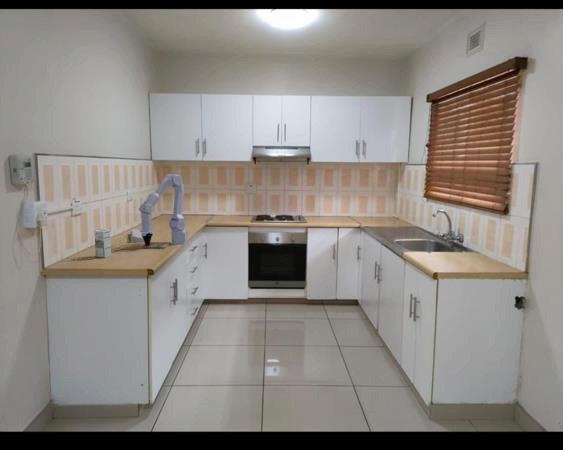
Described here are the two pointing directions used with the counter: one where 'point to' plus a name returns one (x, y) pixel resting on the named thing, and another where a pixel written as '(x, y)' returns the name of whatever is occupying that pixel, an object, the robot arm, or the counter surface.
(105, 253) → the syrup box
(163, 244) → the laid plank
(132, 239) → the decorative molding
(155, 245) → the board
